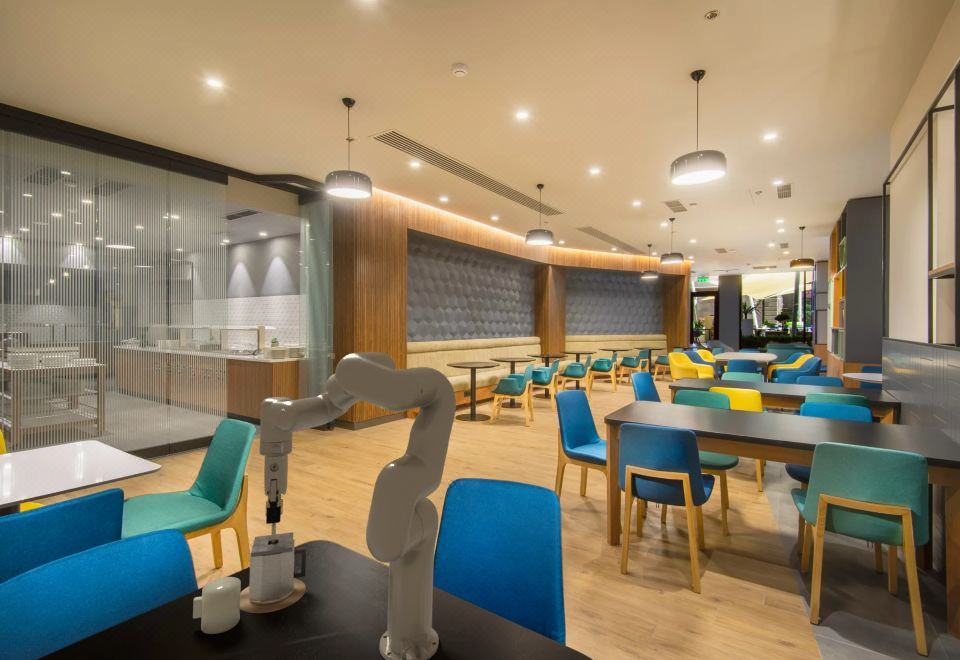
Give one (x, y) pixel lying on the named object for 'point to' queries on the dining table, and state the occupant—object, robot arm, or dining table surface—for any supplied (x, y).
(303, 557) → the grey handled container
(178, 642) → the dining table surface
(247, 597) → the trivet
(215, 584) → the mug
